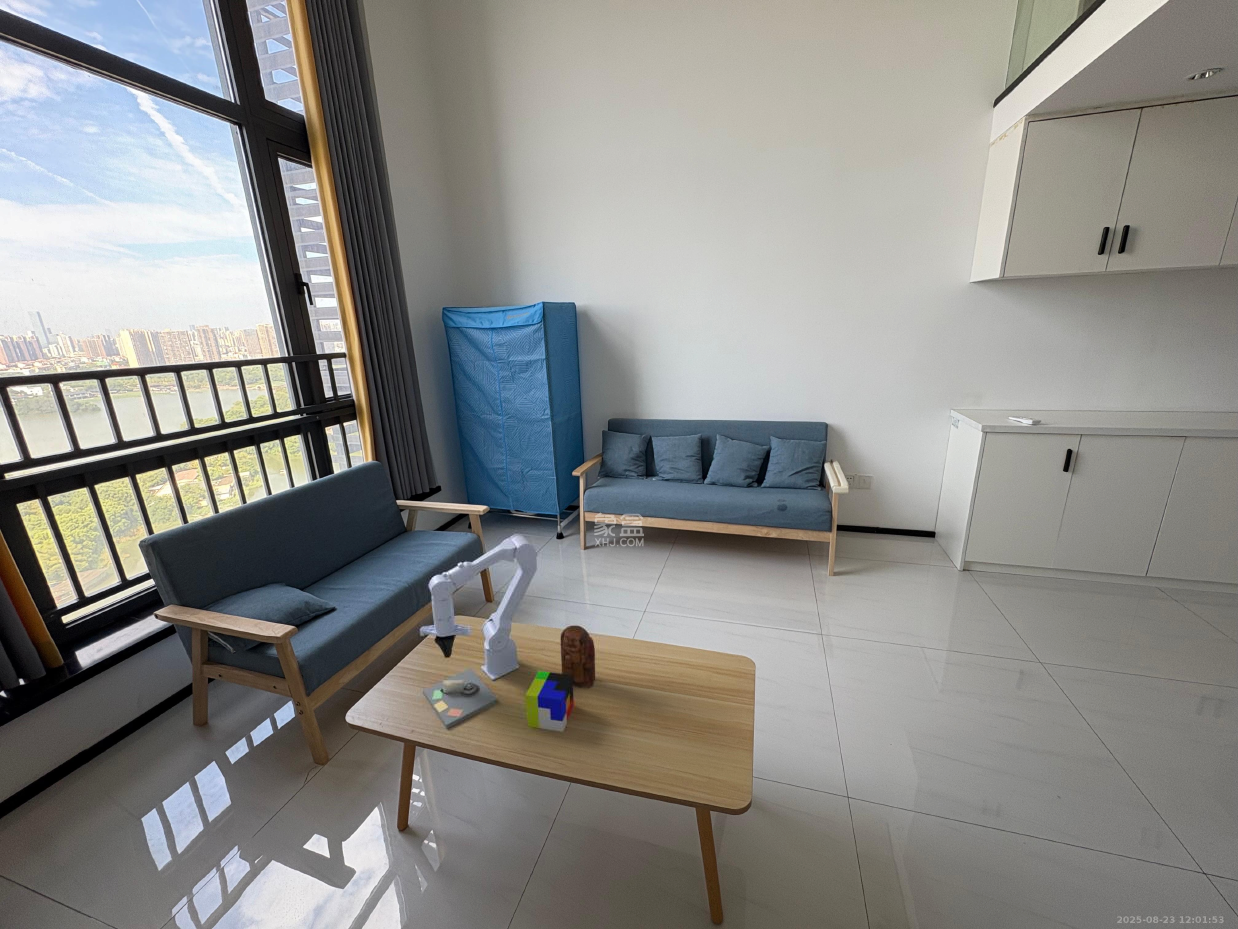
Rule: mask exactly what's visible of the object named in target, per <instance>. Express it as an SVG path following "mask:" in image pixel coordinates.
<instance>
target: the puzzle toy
mask: <svg viewBox="0 0 1238 929" xmlns="http://www.w3.org/2000/svg"><path fill="white" fill-rule="evenodd" d="M574 702H575V700H574V685H573V675H568V674H562V673H558V672H551V671H542V670H538V672H537V674H536V675H535V677H534V679H533V681H532V682H531V685H530V686H529V688H528V690H527V692H526V693H525V705H526V706H525V707H526V720H527V727H528V728H529V727H530V728H535V729H536V728H537V729H542V730H550V731H555V732H556V731H557V732H562V733H563V732H564V731H565V728H566V725H567V723H568V721H569V718H570V716H571V713H572V710H573V708H574V707H575V703H574Z"/></svg>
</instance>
